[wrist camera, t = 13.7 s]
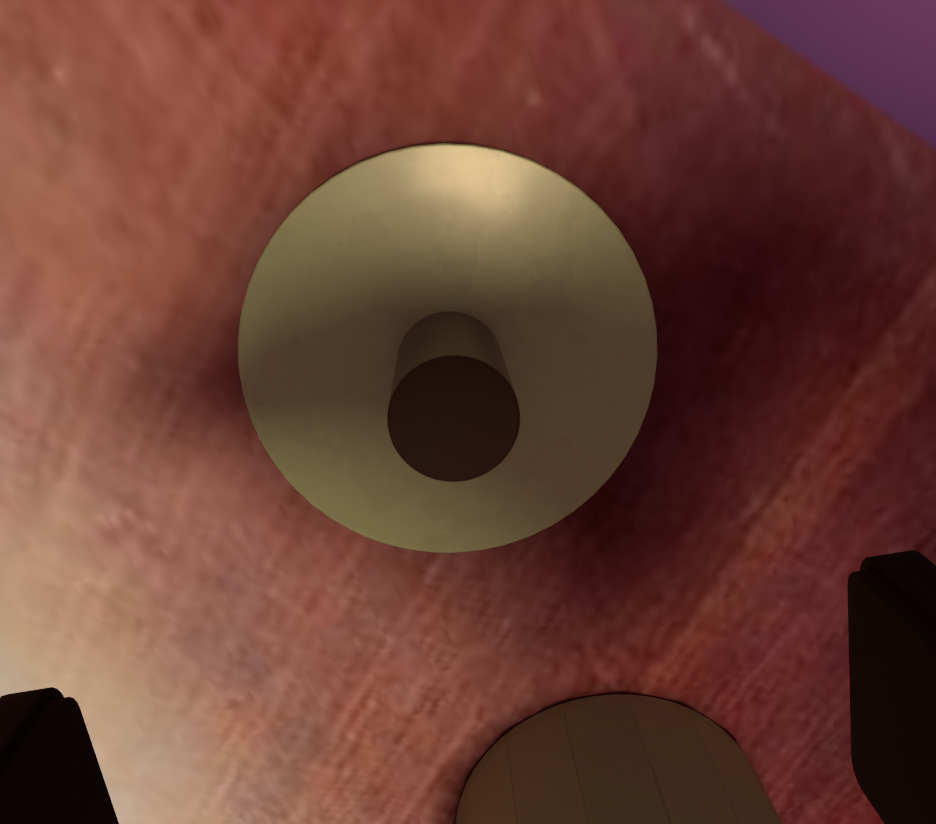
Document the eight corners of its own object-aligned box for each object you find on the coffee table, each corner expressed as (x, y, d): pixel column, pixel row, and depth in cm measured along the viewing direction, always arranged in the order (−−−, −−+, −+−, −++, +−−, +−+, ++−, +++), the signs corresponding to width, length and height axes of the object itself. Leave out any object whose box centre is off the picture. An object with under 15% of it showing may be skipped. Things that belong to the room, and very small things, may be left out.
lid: (629, 112, 24) (699, 99, 18) (664, 507, 28) (733, 614, 21) (202, 178, 24) (120, 189, 18) (291, 564, 28) (249, 687, 21)
